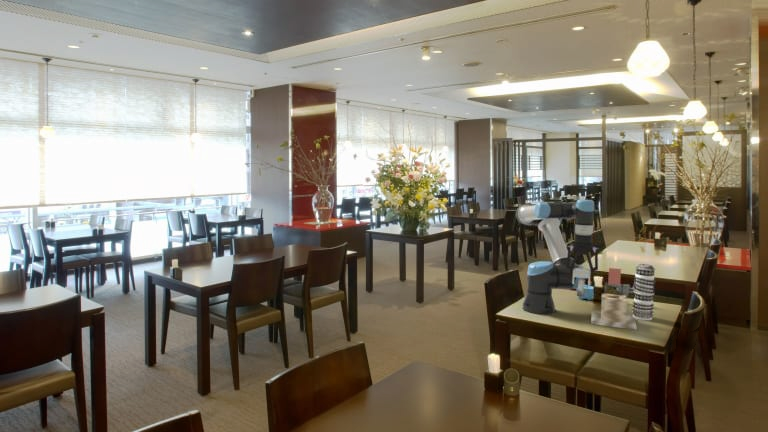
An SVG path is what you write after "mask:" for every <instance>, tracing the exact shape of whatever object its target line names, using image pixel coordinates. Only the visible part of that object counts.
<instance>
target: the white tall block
mask: <svg viewBox="0 0 768 432" xmlns="http://www.w3.org/2000/svg"><path fill="white" fill-rule="evenodd" d="M589 270H590V268H589V269H588V268H583V269H579V268H575V272H574V277H578V280H577V291H576V296H577V297H578V296H580V297H584V291H585V285H586V279H588V278H589Z"/></svg>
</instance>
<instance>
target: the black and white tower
mask: <svg viewBox="0 0 768 432" xmlns="http://www.w3.org/2000/svg"><path fill="white" fill-rule="evenodd" d="M635 268H636V269H635V275H633V281H634V282H633V286H634V288H635V289H634V293H633V294H634V298H633V302H632V304H633V305H632V307H633V308H632V309H631V310H632V312H631V313H632V316H634V319H636V320H640V321H641V320H642V321H651V320H653V316H654V314H653V313H654V311H653V310H654V306H655V304H654V295H655V293H656V292H655V290H656V288H655V287H656V282H657V281H656V280H655V277H656V276H655V270H656V268H654V266H653V265H652V264H648V263H647V264H646V263H640V264H638V265H637V266H635Z"/></svg>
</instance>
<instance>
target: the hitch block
mask: <svg viewBox="0 0 768 432" xmlns="http://www.w3.org/2000/svg"><path fill="white" fill-rule="evenodd" d="M620 284H621V287H620V289H621V290H620V292H619V294H614V293H613V294H612V293H608V287H609V286H608V282H605V283H604V293H601V303H600V304H601V305H600V307H601V308H600V311H591V314H590V315H591V316H590V318H591V325H595V326H604V327H612V328H620V329H629V330H637V323H636V320H635V319H636V318H634V316H633V315H627V313H628V312H627V309H628V297H627V298H626V296H625V295H623V284H624V283H620Z"/></svg>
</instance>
